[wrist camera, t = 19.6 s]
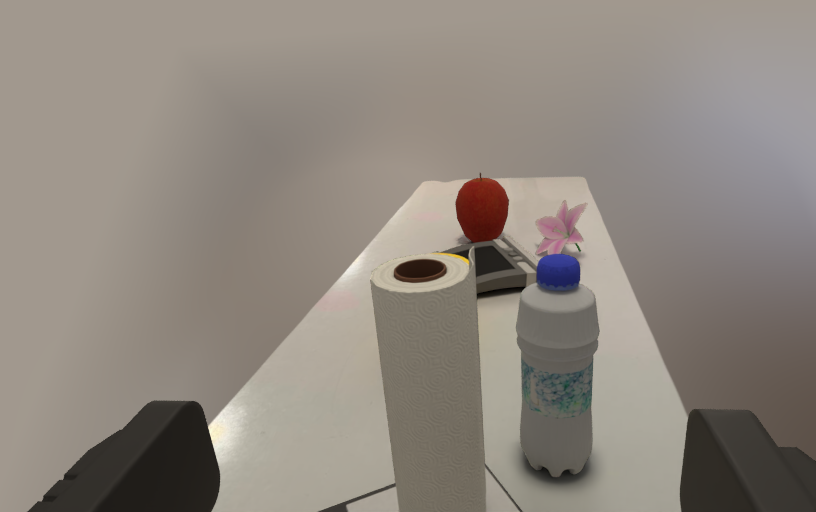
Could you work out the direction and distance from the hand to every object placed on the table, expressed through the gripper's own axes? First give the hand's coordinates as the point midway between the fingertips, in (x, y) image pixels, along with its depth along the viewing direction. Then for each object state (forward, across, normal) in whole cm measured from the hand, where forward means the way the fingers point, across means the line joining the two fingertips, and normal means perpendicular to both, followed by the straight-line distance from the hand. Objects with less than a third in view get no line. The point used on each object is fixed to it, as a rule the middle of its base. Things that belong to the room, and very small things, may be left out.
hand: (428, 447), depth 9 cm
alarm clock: (+77, +2, +30) cm, 82 cm away
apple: (+94, +2, +30) cm, 99 cm away
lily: (+85, -12, +30) cm, 91 cm away
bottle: (+34, -6, +30) cm, 46 cm away
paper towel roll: (+22, +3, +28) cm, 36 cm away
